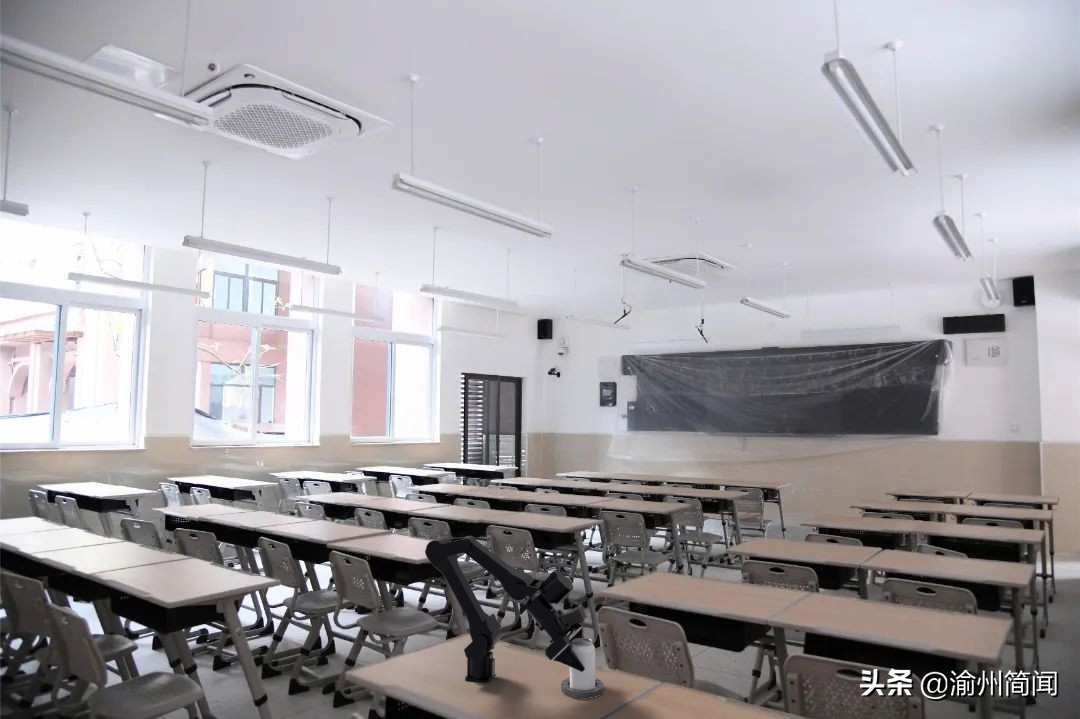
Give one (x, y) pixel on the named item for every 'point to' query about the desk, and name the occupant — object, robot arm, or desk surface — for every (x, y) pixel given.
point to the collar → (582, 693)
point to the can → (587, 658)
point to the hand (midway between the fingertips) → (587, 663)
